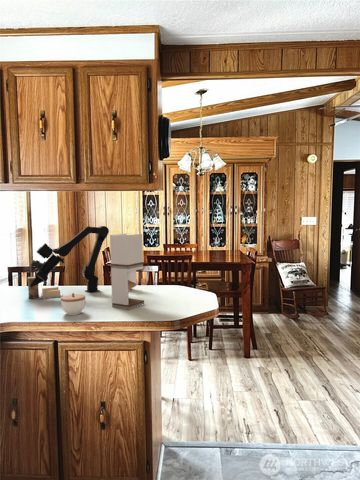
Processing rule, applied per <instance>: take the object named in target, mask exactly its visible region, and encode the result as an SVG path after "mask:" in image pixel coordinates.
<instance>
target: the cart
mask: <svg viewBox="0 0 360 480" xmlns="http://www.w3.org/2000/svg"><path fill="white" fill-rule="evenodd" d="M34 279H35V277H34V276H28V277H27V291H28V294H27V295H28V299H29V300H30V299H38V298H40V293H39V291H40V290H39V284H37V285H35V286H33V287H31V286H30V285H31V283H32V282H33V280H34Z"/></svg>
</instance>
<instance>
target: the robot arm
mask: <svg viewBox="0 0 360 480" xmlns="http://www.w3.org/2000/svg"><path fill="white" fill-rule="evenodd" d="M109 232H110V229H109V228H108V227H107V226H106V225H100V226H98V227H96V226H95V227H94V226H89V225H87V226H85V227H84V228H83V229H82V230H80V232H78V233H77V234H76V235H75V236H73V238H71V239H70V240H69V241H67V242H65V243H64V244H61V245H60V246H58V247H56V248H52V247H50V246H49V245H48V244H47V243H44V244H42V245H41V246H40V247H39V248H38V249H37V250H36V253H37V254H38V255H39V256H41V258H43V259H47V260H45V261H43V262H40V260H35V259H32V260H31V263H30V266H31V267H32V268H35V269H34V276H33V277H35V279H34V280H33V282H32V283H31V285H30V286H31V287H33V286H35V285H37V284H38V285H40V284H42V283H44V282H47V281H48V279H49V274H50V273H51V272H52V271H54V269H55V268H56V267H57V266H58V264H60V263H62V264H65V261H64V260H65V258H64V257H67V256H68V255H69V254H70V253H71V252H72V250H73V248H74V247H75V246H77V244H79V243H80V242H81V241H82V240H83V239H85V238H86V237H87V236H89V235H90V234H96V235H95V242H94V245H93V248H92V251H91V254H90V257H89V259H88V262H87V264H84V265H83V268H82V270H81V272H82V273H81V274H82V276H83V277H84V278H85V280H86V289H85V290H84V292H85V293H91V294H92V293H97V292H100V291H101V290H100V289H98V288H99V286H98V281H99V277H98V276H96V275H95V274H96V273H95V272H96V264H97V260H98V257H99V254H100V253H101V252H100V251H101V248H102V246H103V243H104V241H105V240H106V239H107V236H108V235H109Z"/></svg>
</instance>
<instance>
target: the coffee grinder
mask: <svg viewBox="0 0 360 480" xmlns="http://www.w3.org/2000/svg"><path fill="white" fill-rule="evenodd" d="M109 244H110V245H109V248H110V250H109V251H110V277H111V278H110V279H111V280H110V281H111V305H112V306H111V307H112V308H116V309H123V310H128V309H129V310H128V311H130V310H132V308H133V309H135V308H138V307H141V306H143V305H142V304H144V305H145V300H144V299H139V298H129V296H130V295H129V290H131V289H133V288H135V287H136V286H137V271H140V270H143V269H144V256H143V255H144V250H143V248H144V247H143V244H144V243H143V233H136V234H127V233H119V234H117V233H116V234H109ZM140 305H141V306H140ZM137 306H138V307H137Z"/></svg>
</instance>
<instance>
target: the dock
mask: <svg viewBox="0 0 360 480" xmlns="http://www.w3.org/2000/svg"><path fill="white" fill-rule="evenodd" d="M41 292H42V293H40V295H41V298H42V299H43V300H44V299H53V298H61V297H63V296H64V295H63V293H62V291H61V289H59V286H54V287H53V286H52V287H43V288H42V289H41Z"/></svg>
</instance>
